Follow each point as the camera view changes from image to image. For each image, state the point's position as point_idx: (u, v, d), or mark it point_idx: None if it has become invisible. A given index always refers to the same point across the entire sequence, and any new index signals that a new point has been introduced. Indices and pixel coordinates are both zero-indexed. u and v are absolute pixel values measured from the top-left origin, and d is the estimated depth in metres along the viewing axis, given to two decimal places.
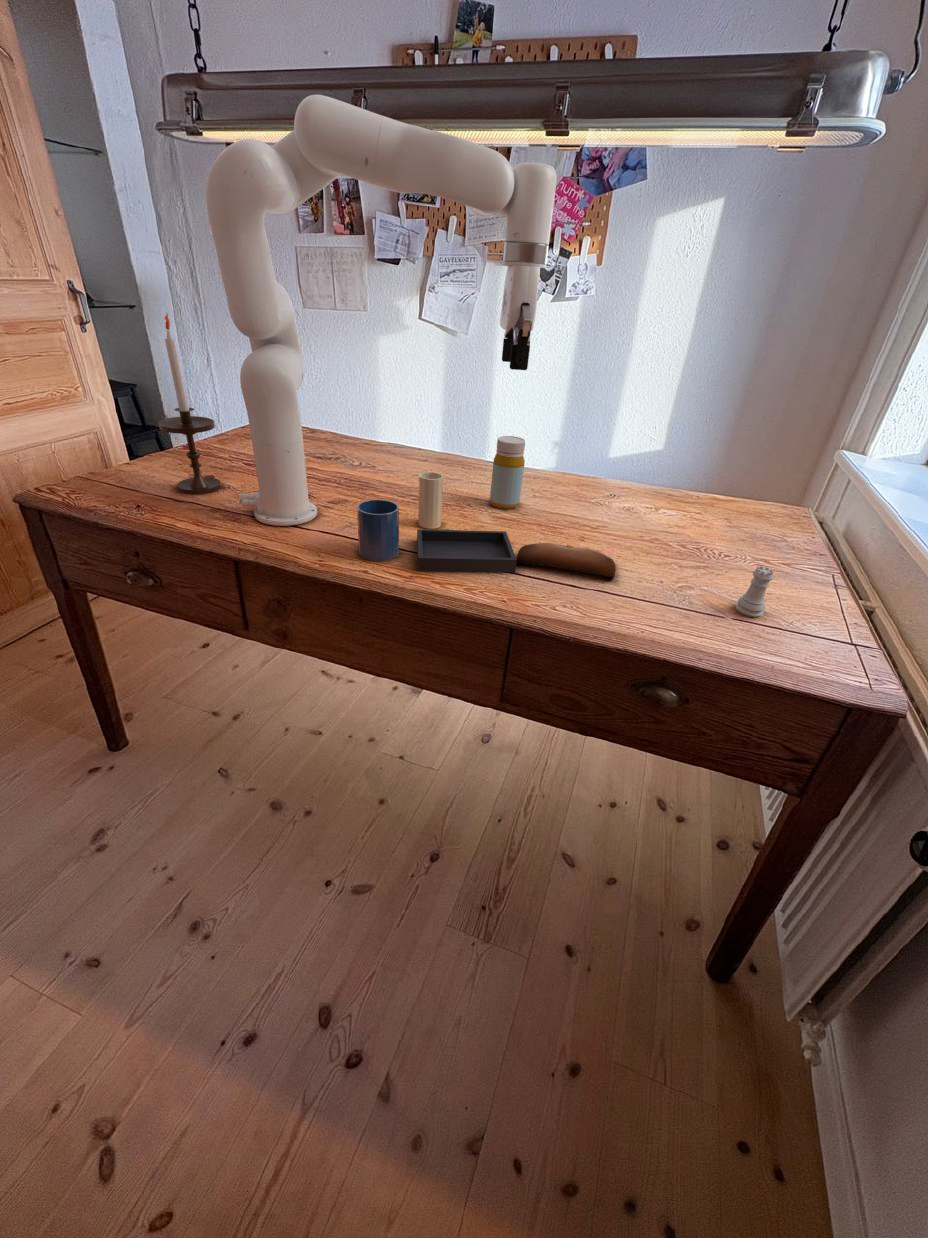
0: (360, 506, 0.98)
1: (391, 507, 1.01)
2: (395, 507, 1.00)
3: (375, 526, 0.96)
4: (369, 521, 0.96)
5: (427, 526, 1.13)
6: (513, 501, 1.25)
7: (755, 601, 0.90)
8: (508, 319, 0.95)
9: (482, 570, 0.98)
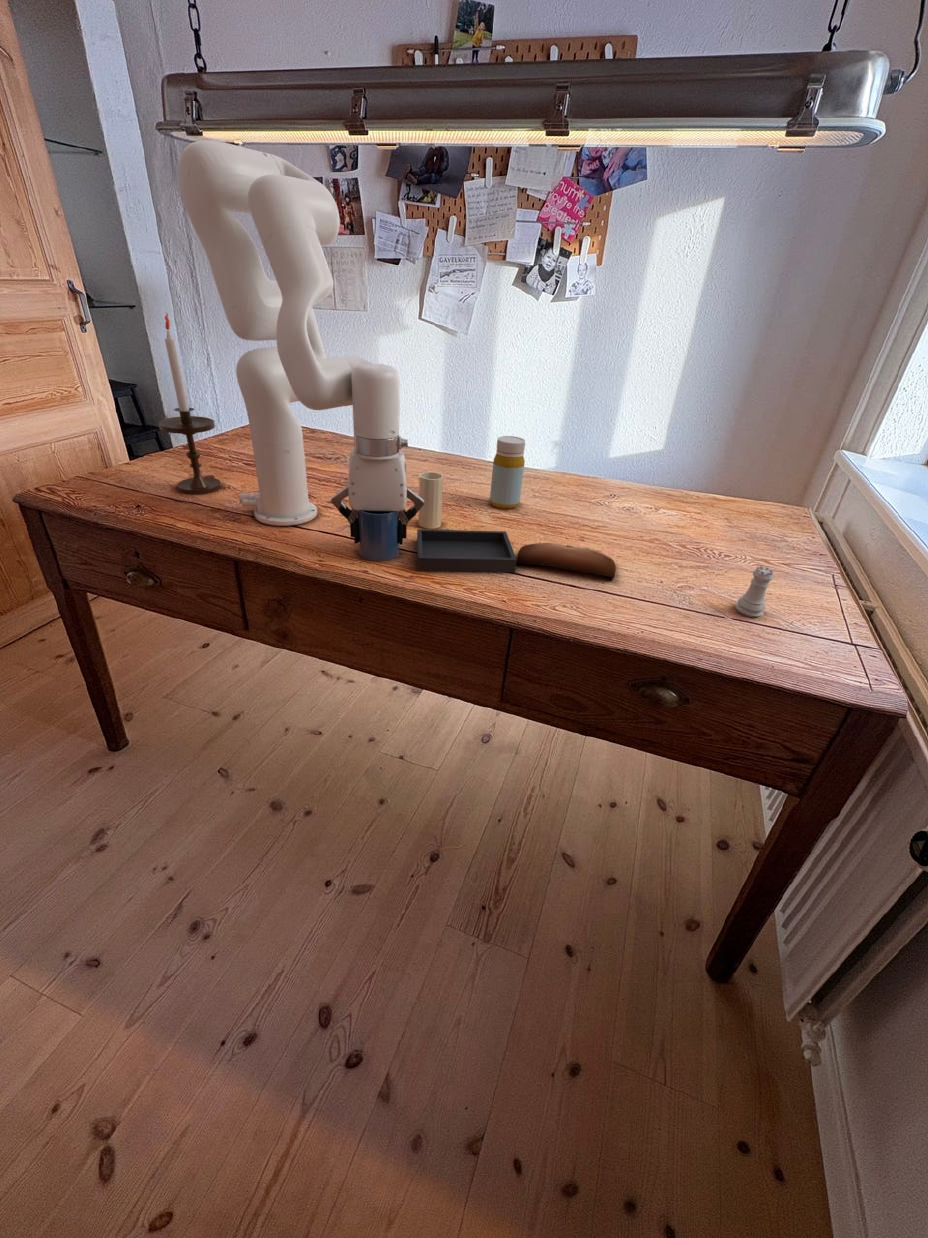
0: None
1: None
2: None
3: (375, 526, 0.96)
4: (369, 521, 0.96)
5: (427, 526, 1.13)
6: (513, 501, 1.25)
7: (755, 601, 0.90)
8: None
9: (482, 570, 0.98)
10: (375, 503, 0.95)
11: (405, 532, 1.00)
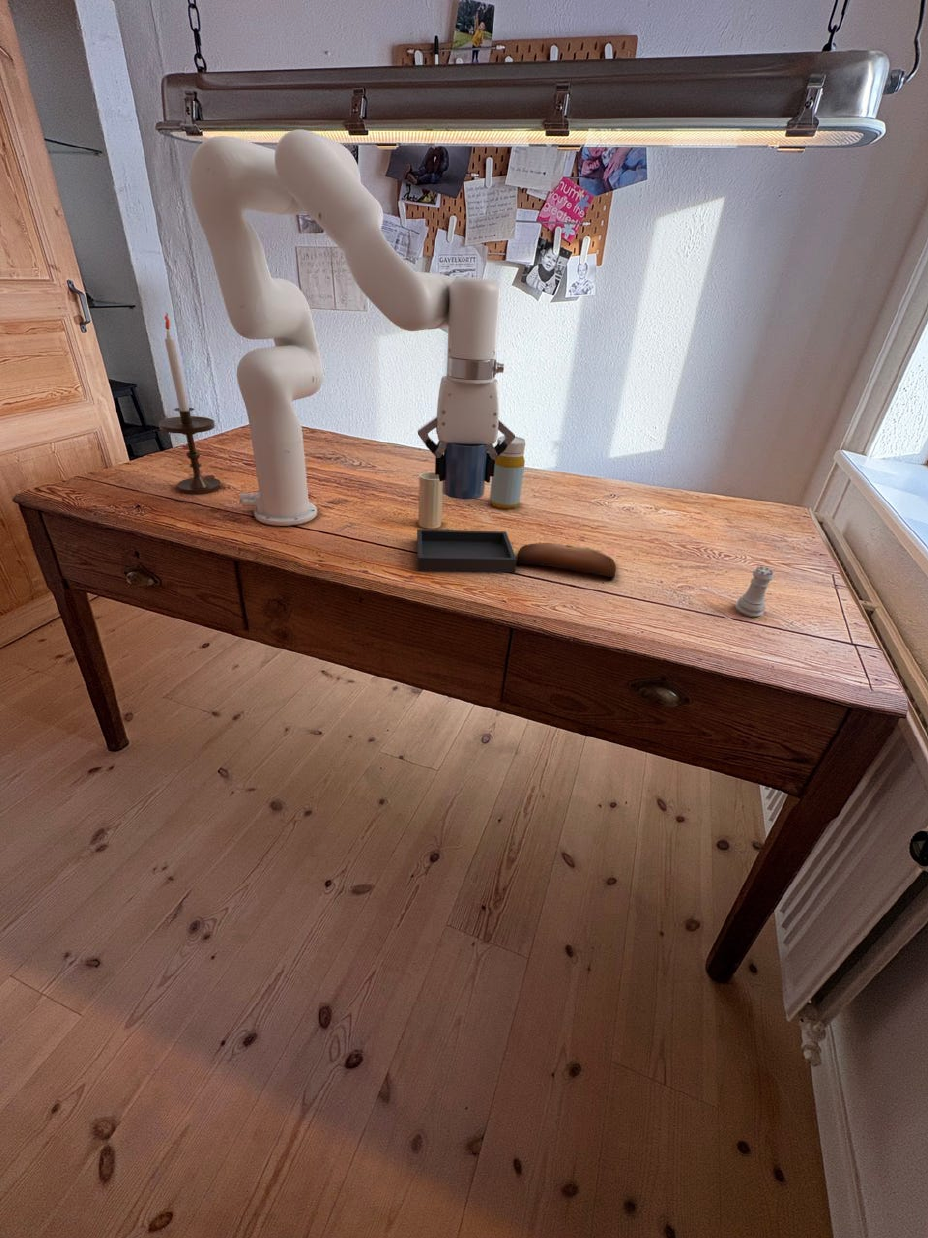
0: None
1: None
2: None
3: (465, 459, 0.90)
4: (459, 454, 0.90)
5: (427, 526, 1.13)
6: (513, 501, 1.25)
7: (755, 601, 0.90)
8: None
9: (482, 570, 0.98)
10: (465, 434, 0.89)
11: (493, 469, 0.94)
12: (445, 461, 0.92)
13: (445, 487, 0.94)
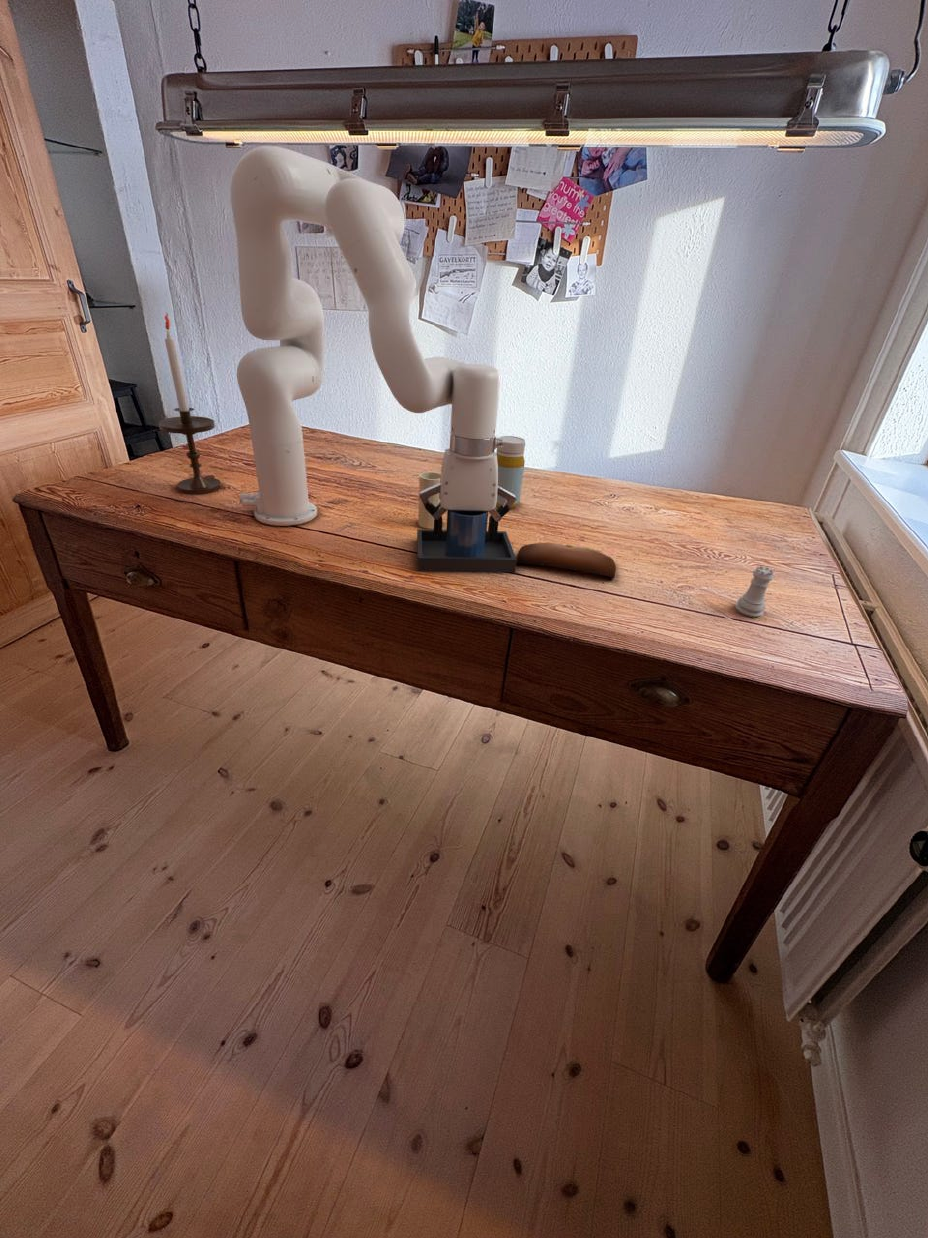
0: None
1: None
2: None
3: (466, 527, 0.96)
4: (461, 523, 0.96)
5: (427, 526, 1.13)
6: None
7: (755, 601, 0.90)
8: None
9: (482, 570, 0.98)
10: (467, 503, 0.95)
11: (496, 529, 1.00)
12: (448, 527, 0.99)
13: (448, 550, 1.01)
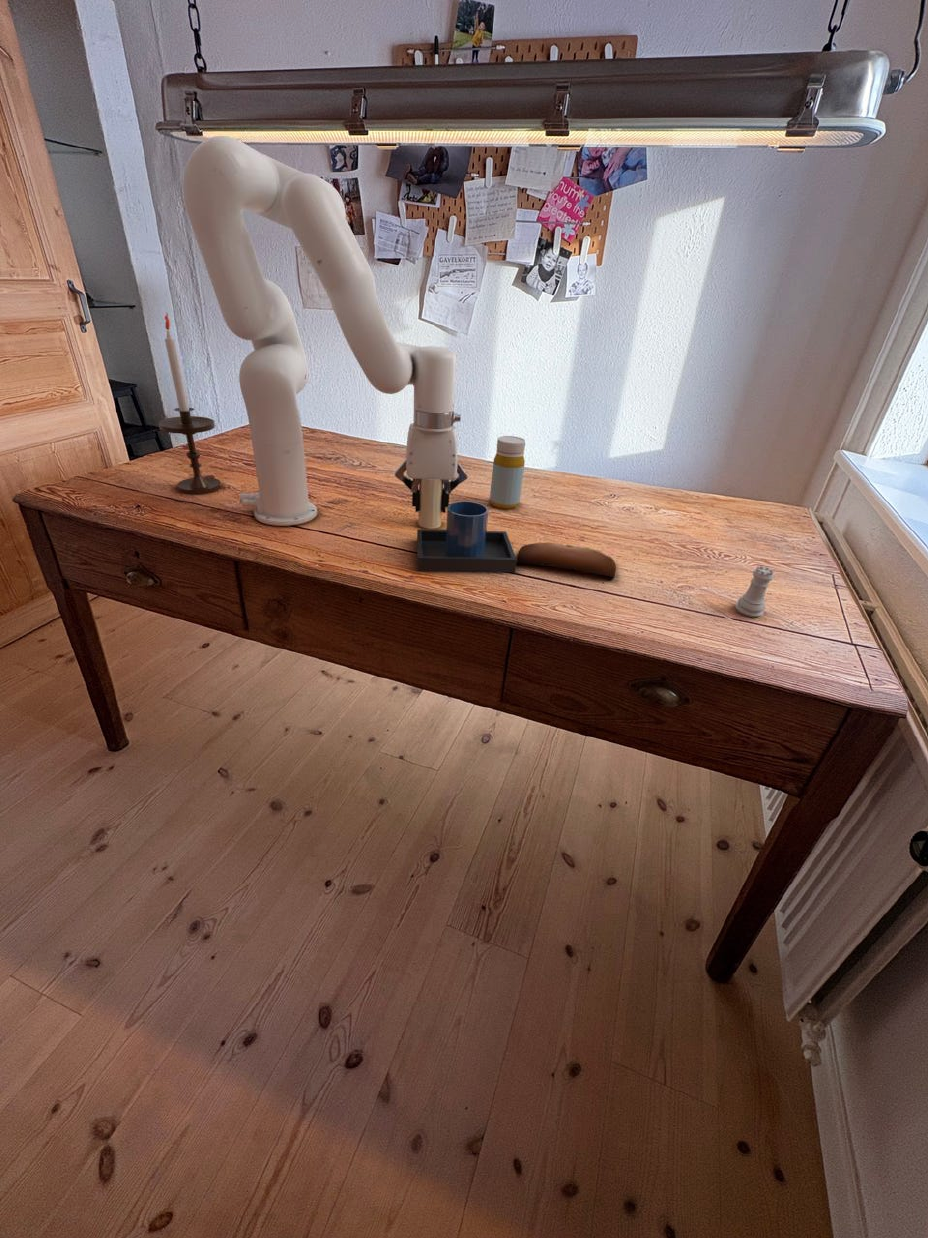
0: (449, 508, 0.99)
1: (478, 509, 1.01)
2: (483, 509, 1.00)
3: (466, 527, 0.96)
4: (461, 523, 0.96)
5: (427, 526, 1.13)
6: (513, 501, 1.25)
7: (755, 601, 0.90)
8: None
9: (482, 570, 0.98)
10: (430, 472, 1.07)
11: (448, 501, 1.12)
12: (448, 527, 0.99)
13: (448, 550, 1.01)
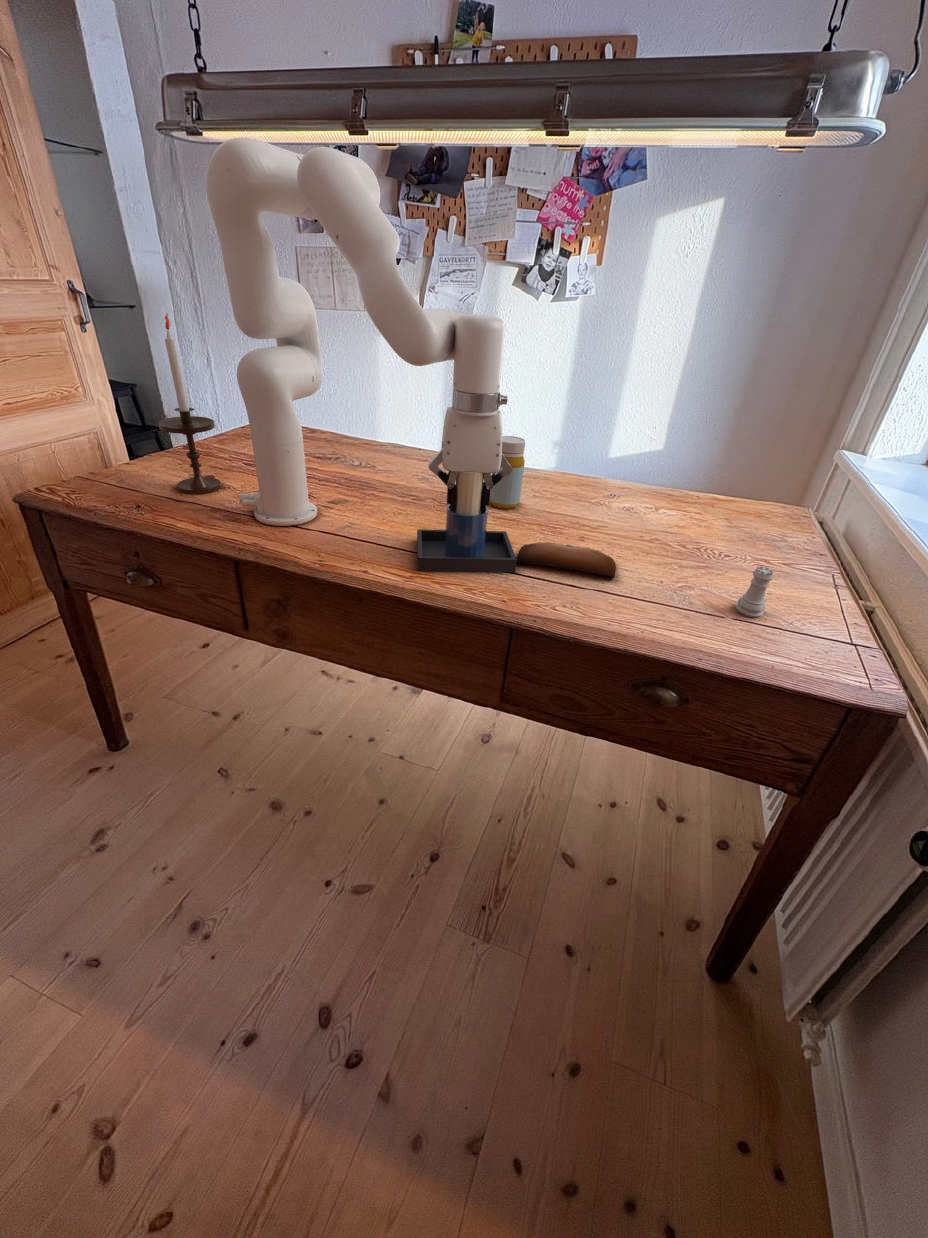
0: (449, 507, 0.99)
1: None
2: None
3: (466, 527, 0.96)
4: (461, 522, 0.96)
5: None
6: (513, 501, 1.25)
7: (755, 601, 0.90)
8: None
9: (482, 570, 0.98)
10: (470, 463, 0.92)
11: (488, 498, 0.97)
12: (447, 527, 0.99)
13: (447, 550, 1.01)
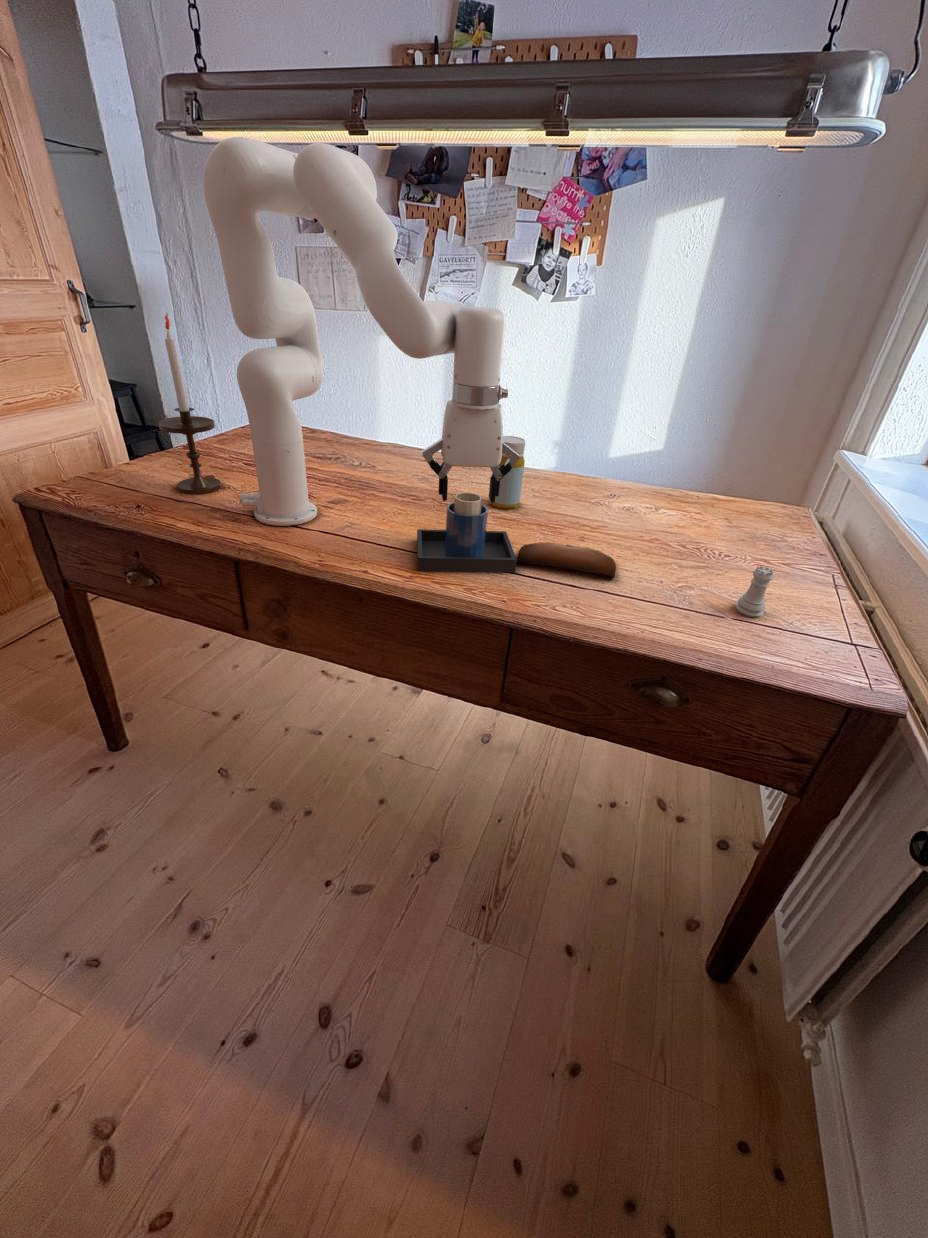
0: (449, 508, 0.99)
1: None
2: (483, 508, 1.00)
3: (466, 527, 0.96)
4: (460, 522, 0.96)
5: None
6: (513, 501, 1.25)
7: (755, 601, 0.90)
8: None
9: (482, 570, 0.98)
10: (470, 457, 0.91)
11: (498, 489, 0.96)
12: (447, 527, 0.99)
13: (447, 550, 1.01)
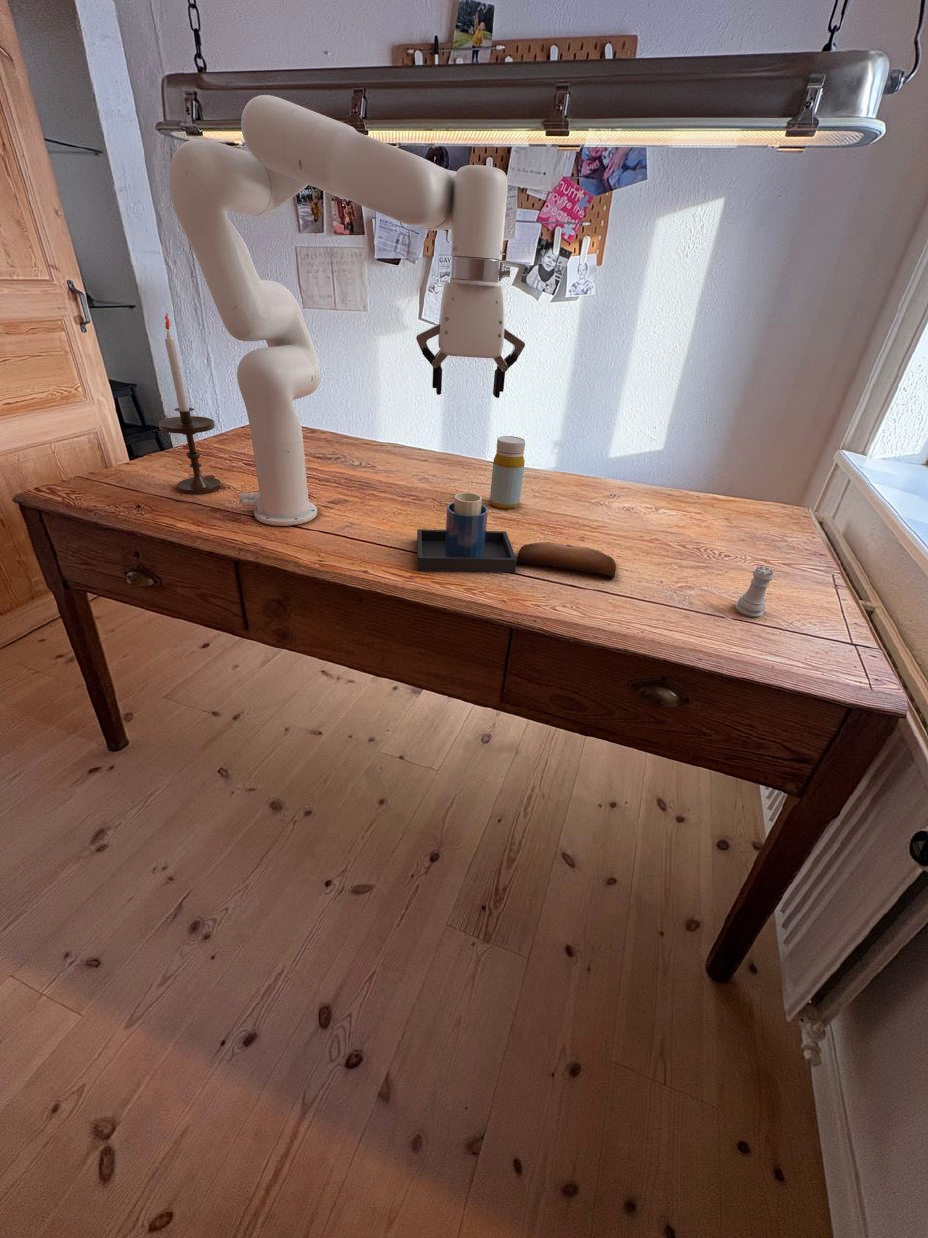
0: (449, 508, 0.99)
1: None
2: (483, 508, 1.00)
3: (466, 527, 0.96)
4: (460, 522, 0.96)
5: None
6: (513, 501, 1.25)
7: (755, 601, 0.90)
8: None
9: (482, 570, 0.98)
10: (469, 345, 0.85)
11: (503, 383, 0.89)
12: (447, 527, 0.99)
13: (447, 550, 1.01)
